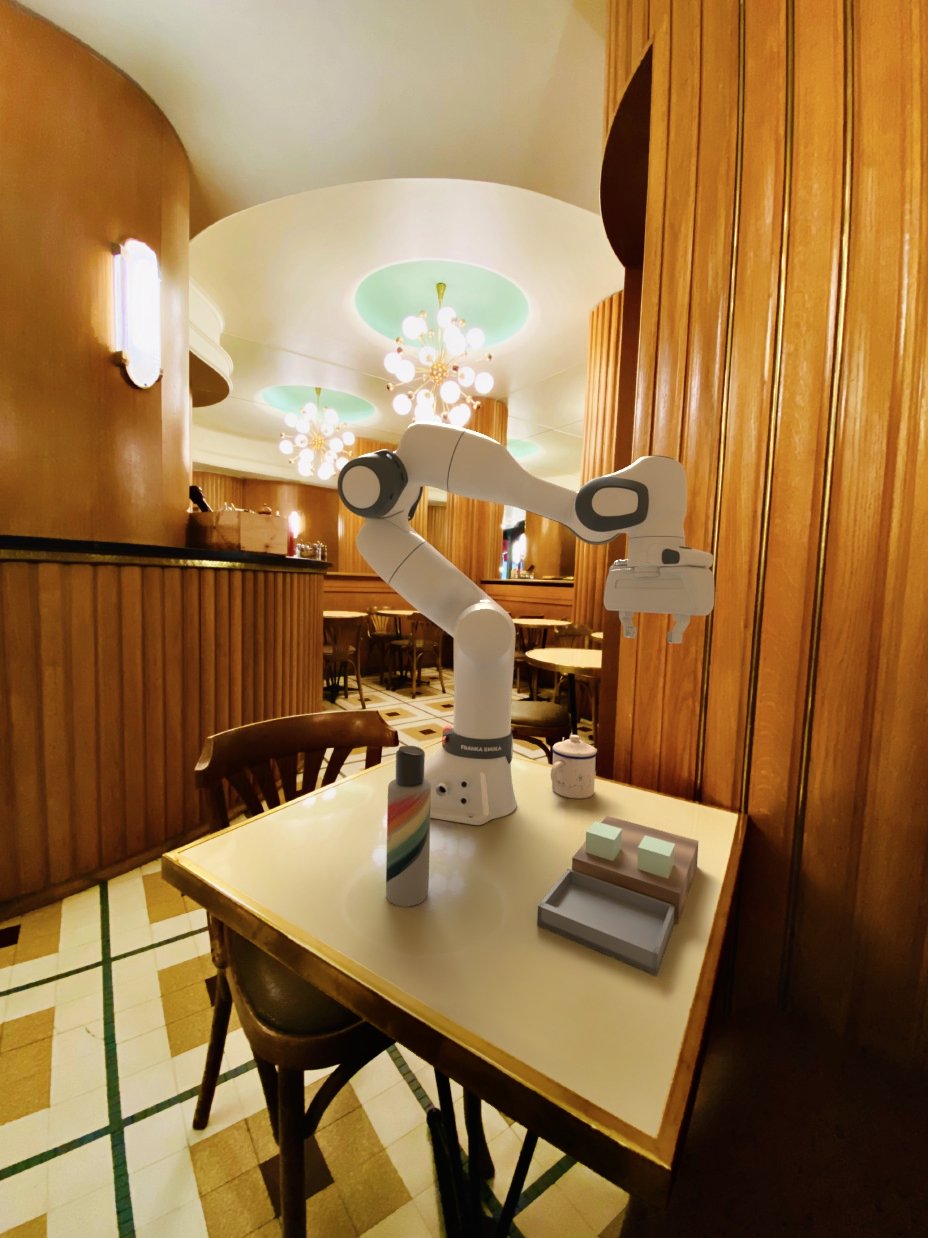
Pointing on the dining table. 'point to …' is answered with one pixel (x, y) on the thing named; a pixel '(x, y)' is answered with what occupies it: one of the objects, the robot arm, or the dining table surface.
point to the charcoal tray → (608, 919)
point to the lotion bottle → (408, 830)
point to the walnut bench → (638, 880)
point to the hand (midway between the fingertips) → (651, 640)
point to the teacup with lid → (573, 768)
